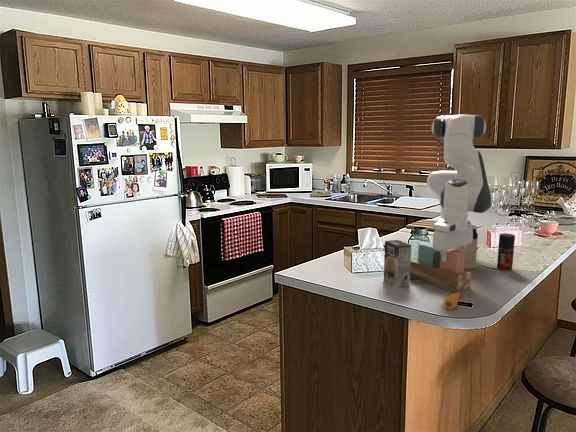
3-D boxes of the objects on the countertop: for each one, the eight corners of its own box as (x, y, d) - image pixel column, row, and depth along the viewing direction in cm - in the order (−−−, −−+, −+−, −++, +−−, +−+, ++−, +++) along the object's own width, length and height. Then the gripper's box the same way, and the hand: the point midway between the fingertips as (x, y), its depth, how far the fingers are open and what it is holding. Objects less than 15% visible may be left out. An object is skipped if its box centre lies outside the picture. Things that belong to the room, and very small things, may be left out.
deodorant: (496, 270, 199) (499, 235, 196) (497, 266, 204) (499, 232, 201) (511, 271, 196) (515, 237, 193) (512, 268, 201) (515, 234, 199)
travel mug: (473, 270, 199) (476, 229, 195) (454, 267, 202) (457, 227, 199) (476, 265, 205) (479, 225, 202) (457, 263, 209) (460, 223, 206)
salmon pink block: (446, 276, 184) (447, 247, 182) (463, 281, 178) (465, 251, 176) (438, 279, 181) (439, 249, 179) (455, 284, 175) (457, 253, 173)
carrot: (451, 313, 156) (458, 302, 154) (439, 306, 158) (445, 295, 156) (462, 300, 173) (468, 290, 172) (451, 293, 175) (457, 283, 173)
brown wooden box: (422, 273, 195) (423, 257, 194) (469, 287, 178) (471, 270, 176) (408, 277, 190) (409, 260, 189) (455, 292, 172) (456, 274, 171)
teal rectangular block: (425, 270, 192) (426, 242, 190) (440, 275, 186) (442, 246, 184) (417, 272, 189) (418, 244, 187) (432, 277, 183) (434, 248, 181)
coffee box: (382, 279, 187) (384, 240, 184) (396, 277, 190) (397, 239, 187) (396, 286, 179) (397, 246, 176) (410, 284, 181) (411, 244, 178)
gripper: (463, 218, 184) (461, 252, 187) (430, 225, 172) (428, 261, 175) (478, 221, 179) (475, 255, 182) (445, 228, 167) (442, 265, 170)
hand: (452, 258), depth 178 cm, fingers open, 8 cm apart
